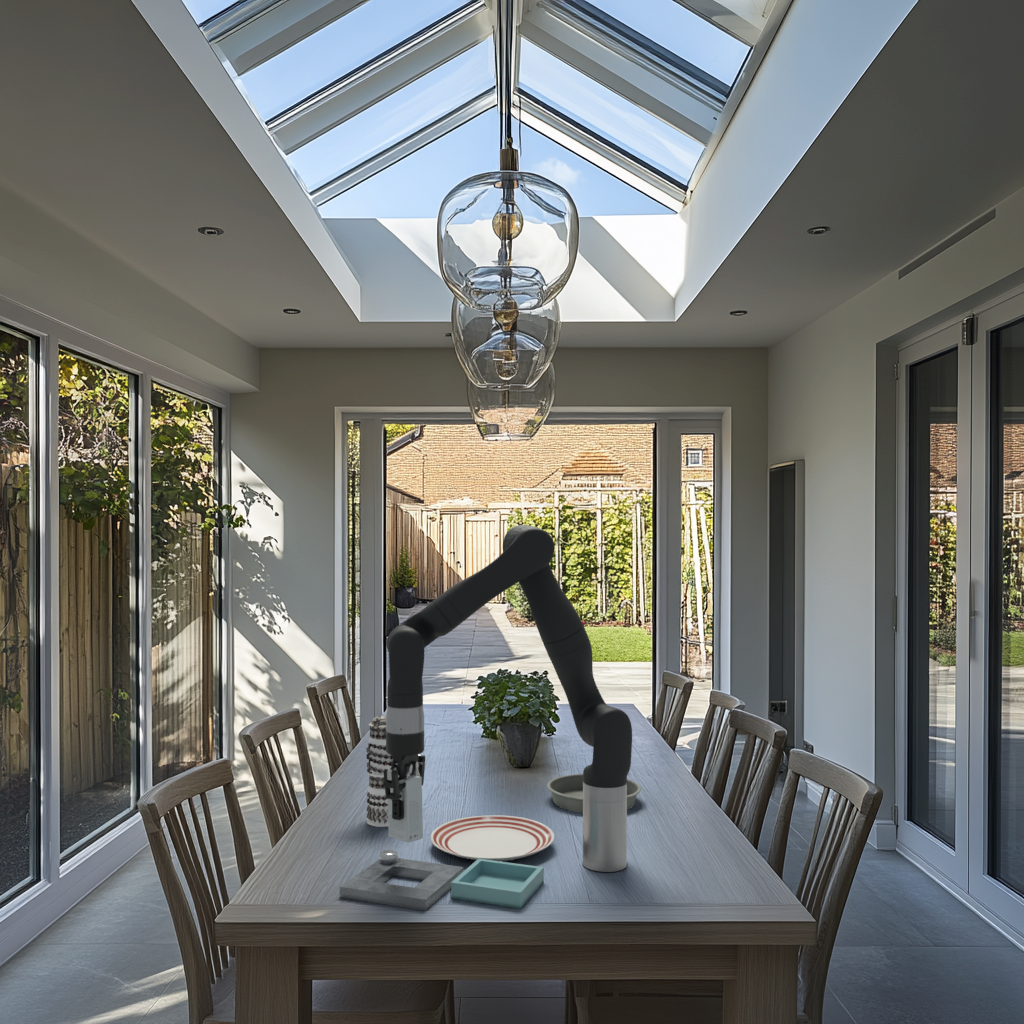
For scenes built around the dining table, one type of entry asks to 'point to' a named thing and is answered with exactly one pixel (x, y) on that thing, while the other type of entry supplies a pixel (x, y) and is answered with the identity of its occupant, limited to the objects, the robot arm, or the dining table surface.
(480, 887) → the tray
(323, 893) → the dining table surface
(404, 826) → the skincare box
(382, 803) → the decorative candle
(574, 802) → the cake pan
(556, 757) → the dining table surface
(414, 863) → the socket block
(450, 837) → the dinner plate
